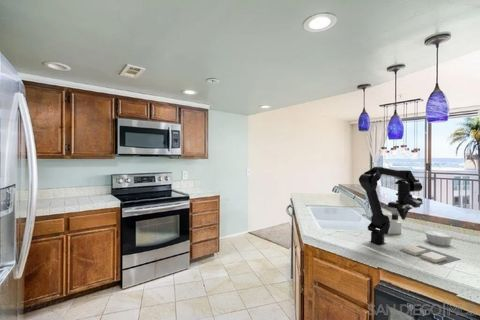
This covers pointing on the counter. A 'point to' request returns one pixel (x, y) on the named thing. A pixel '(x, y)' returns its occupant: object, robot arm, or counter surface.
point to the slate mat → (449, 258)
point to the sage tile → (414, 250)
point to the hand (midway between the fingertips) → (403, 219)
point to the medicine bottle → (394, 224)
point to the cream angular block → (433, 257)
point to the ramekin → (438, 237)
